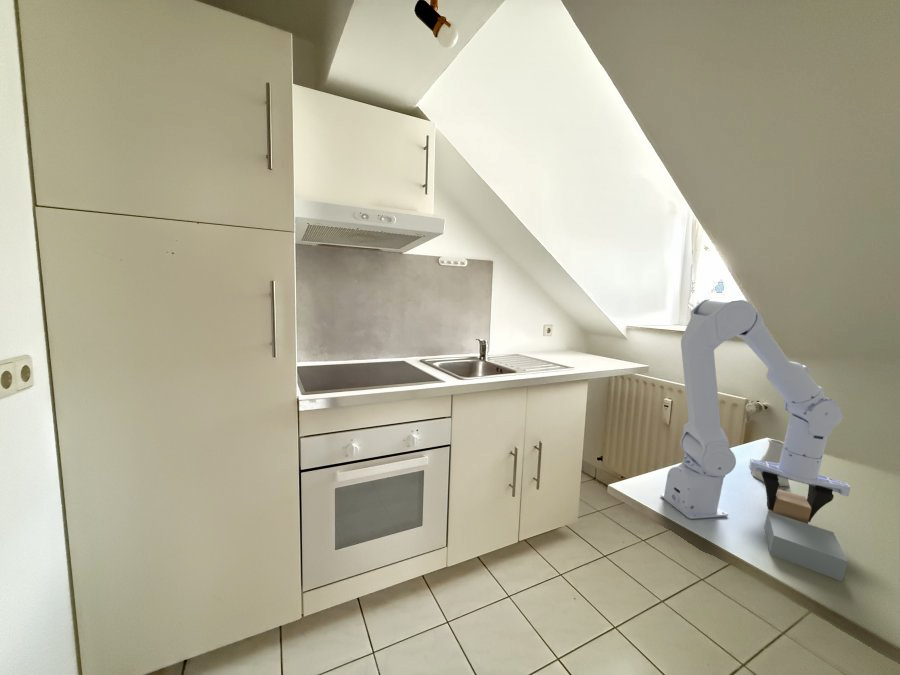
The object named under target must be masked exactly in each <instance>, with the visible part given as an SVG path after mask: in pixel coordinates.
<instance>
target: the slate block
mask: <svg viewBox="0 0 900 675" xmlns="http://www.w3.org/2000/svg"><path fill="white" fill-rule="evenodd" d="M763 529H765V530H764V534H766V535H765V538H766V542H767V543H766V544H767V547H768V548H767V549H768V552H769V555H771V556H774V557H776V558H779V559H782V560H784V561H787V562H790V563H793V564H795V565H798V566H800V567H802V568H806V569H809V570H811V571H813V572H816V573H818V574H822V575H824V576H827V577H830V578H833V579H835V580H837V581H840V582H844V581H843V580H844V577H845V574H846V570H847V566H848V564H849V561H848V559H847V556H846V555H845V552H844V551H843V548H842V547H841V545H840V543H839V541H838V538H837V537H836V535H835V533H834V532H833V531H831V530H828V529H824V528H821V527H818V526H815V525H812V524H809V523H808V524H806V523H803V522H800V521H797V520H794V519H791V518H788V517H785V516H782V515H779V514H776V513H773V512H770V511H769V510H768V511H767V513H766V518H765V522H764V527H763Z"/></svg>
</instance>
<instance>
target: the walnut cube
mask: <svg viewBox="0 0 900 675" xmlns="http://www.w3.org/2000/svg"><path fill="white" fill-rule="evenodd" d="M811 509H812V508H811V507H810V505H809V503H808V501H807V497H806V496H804V495H801V494H797V493H793V492H789V491H787V490H784V489H779V488H778V490H777V493H776V497H775V503H774V508H773V511H772V510H769V509H768V508H767V510H768V511H770V512H773V513H776V514H779V515H782V516H785V517H788V518H791V519H794V520H797V521H800V522H803V523H806V524H809V522H808V521H809V517H810V513H811Z"/></svg>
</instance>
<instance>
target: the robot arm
mask: <svg viewBox="0 0 900 675" xmlns="http://www.w3.org/2000/svg"><path fill="white" fill-rule="evenodd" d="M734 337H737V338H740V339H741V340H743V341H744V342H745V344H746V345H747V346H748V347H749V348H750V349H751V350H752V351H753V353H754V354H755V355H756V357H757V358H758V359H759V360H761V362H762V363H763V364H764V365H765V367H766V368H767V369H768V370H767V372H766V379H767V380H768V381H769V382H770V384H771V385H772V386H773V388H774V389H775V391H777V392H778V394H779V395H780V397H781V398H782V399H783V408H784V410H785V411H787V413H789V418H788V422H787V427H786V433H785V437H784V441H783V443H784V445H783V449H782V453H781V458H780V462H779V463H772V462H766V461H760V460H759V459H754V458H750V460H749V465H748V468H749V471H750V472H751V471H755V472H757V471H759V472H761V474H762V477H763V480H764V482H763V484H764V487H765V492H766V507H767V510H768V509H769V510H772V511H773V508H774V503H775V497H776V493H777V490H778V489H779V488H780V487H781V486H780V484H779V482H778V480H779V479H778V477H781V478H785V479H788V481H789V480H790V481H794V482H796V483H801V484H805V485H808V489H807V492H808V493H807V497H806V499H807V501H808V503H809V505H810V507H811V508H812V509H811V513H810V517H809V521H808V523H811V521H812V519H813V517H814V516H815V515H816V514H817V512H818V511H819V510H820V509H822V508H823V507H824V506H825V505H827V504H829V503H830V502H832V501H833V500H834V498H835V497H834V494H833V492H835V493H838V494H840V495H841V496H845V497H850V496H849V495H850V492H851V488H852V487H851V486H850V485H849V484H848V482H844V481H841V480H837V479H835V478H832V477H828V476H825V475H822V474H819V473H820V470H821V466H822V462H823V457H824V453H825V449H826V445H827V443H828V442H827V441H828V438H829V437H830V435H832V432H833V429H834V428H835V427H836V426H838V425H839V424H840V423H841V422H842V420H843V419H844V414H842V411H841V408H840V405H839V404H838V403H837V401H835V400H834V399H832V398H830V397H826V396H825V393H824V392H825V389H824V388H823V387H822V386H819V385H818V384H817V383H816V381H815V380H814V378H812V377H811V375H810V374H809V373H810V372H811V369H810V368H809V366H806V365H804V364H802V363H799V362H797V361H791V360H789V359H788V357H787V355H786V354H785V353H784V351H783V350H782V348H781V347H780V345H779V344H778V342H777V341H776V340H775V338H774V336H773V335H772V334H771V332H770V330H769V329H768V328H767V326H766V325H765V322H764V317H763V315H762V314H760V313H759V312H758V311H756V308H755V306H754V305H753V304H752V303H750V302H749V301H747V300H745V299H724V298H723V299H722V298H717V297H710V298H706V299H704V300H702V301H701V302H699V303H698V304H697V305H696V306H694V308H693V309H691V310H690V319H689V322H688V324H687V326H686V328H685V330H684V332H683V334H682V337H681V339H680V347H681V357H682V359H681V360H682V369H683V377H684V388H685V396H686V406H687V407H686V408H687V417H688V418H687V419H688V421H687V422H686V423H685V424H683V427H682V428H683V433H682V436H681V437H680V441H679V442H680V448H681V449H682V451H683V452H684V454H683V455H684V456H683V459H682V462H681V463H680V464H679V465H676V466H674V467H672V468H670V469H669V470H668V473H667V477H666V482H665V486H664V487H665V488H664V493H661V494H660V497H661V498H662V499H664V500H665V501H666V502H667V503H669V504H670V505H671V506H673V507H674V508H675V509H677V511H679V512H680V513H682V515H683V516H685V517H686V518H688V519H689V520H693V519H694V520H695V519H706V518H708V519H709V518H720V517H721V518H722V517H728V516H729V513H728V512H726V511H725V510H724V509H722V508H720V507H719V503H720V499H721V494H722V488H723V484H724V479H725V478H726V475H728V474H730V473H731V472H732V471H733V470H734V468H735V467H736V463H737V459H736V455H735V453H734V452H733V451H732V450H731V448H730V441H729V438H728V437H727V435H726V433H725V431H724V429H723V427H722V426H721V416H720V403H719V394H718V383H717V371H716V370H717V369H716V359H715V350H716V349H717V348H718V347H719V346H721V344H723V343H724V342H727V341H729V340H730V339H733V338H734ZM769 510H768V511H769Z"/></svg>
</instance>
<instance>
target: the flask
mask: <svg viewBox="0 0 900 675" xmlns="http://www.w3.org/2000/svg"><path fill="white" fill-rule="evenodd" d="M768 442H769V444H768V448H767V450H766V452H765V453H764V455H763V456H762V457H761V459H760V460H759V461H766V462H772V463H779V462H780V458H781V453H782V449H783V445H784V441H782V440H778V439H771V438H770V439H769V438H768ZM750 472H751V474H752V476H753V477H755V478H756V479H758V480H759V481H761V482H763V483H764V480H763V477H762V474H761V472H759V471H757V472H755V471H751V470H750ZM778 479H779V480H778V482H779V484H780V486H779V487H790V482H789V479H785V478H781V477H778Z"/></svg>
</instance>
